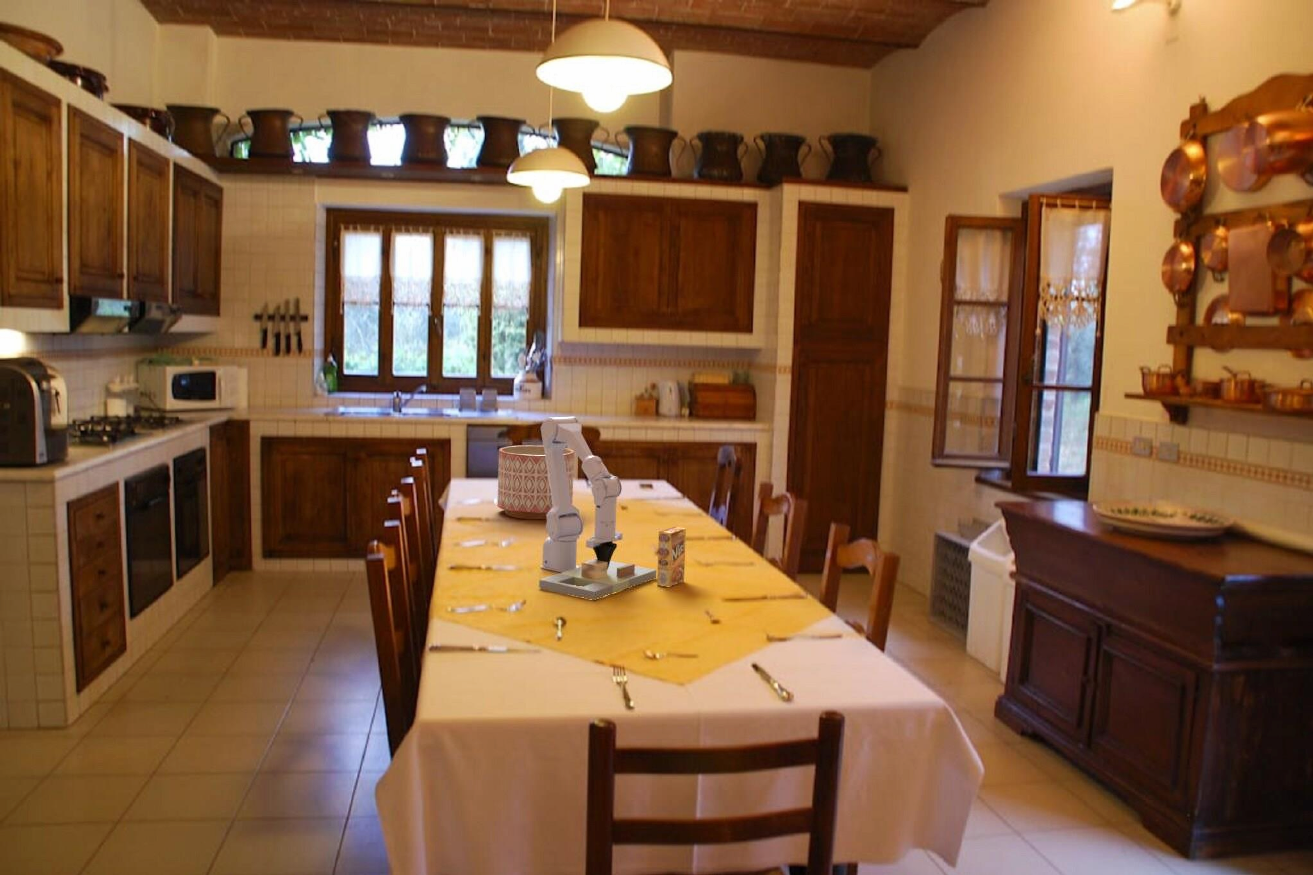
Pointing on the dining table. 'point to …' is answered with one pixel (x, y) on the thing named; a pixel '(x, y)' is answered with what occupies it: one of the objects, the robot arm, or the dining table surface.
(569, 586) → the tunnel deck
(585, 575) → the maple block
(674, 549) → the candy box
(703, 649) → the dining table surface
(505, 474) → the planter
